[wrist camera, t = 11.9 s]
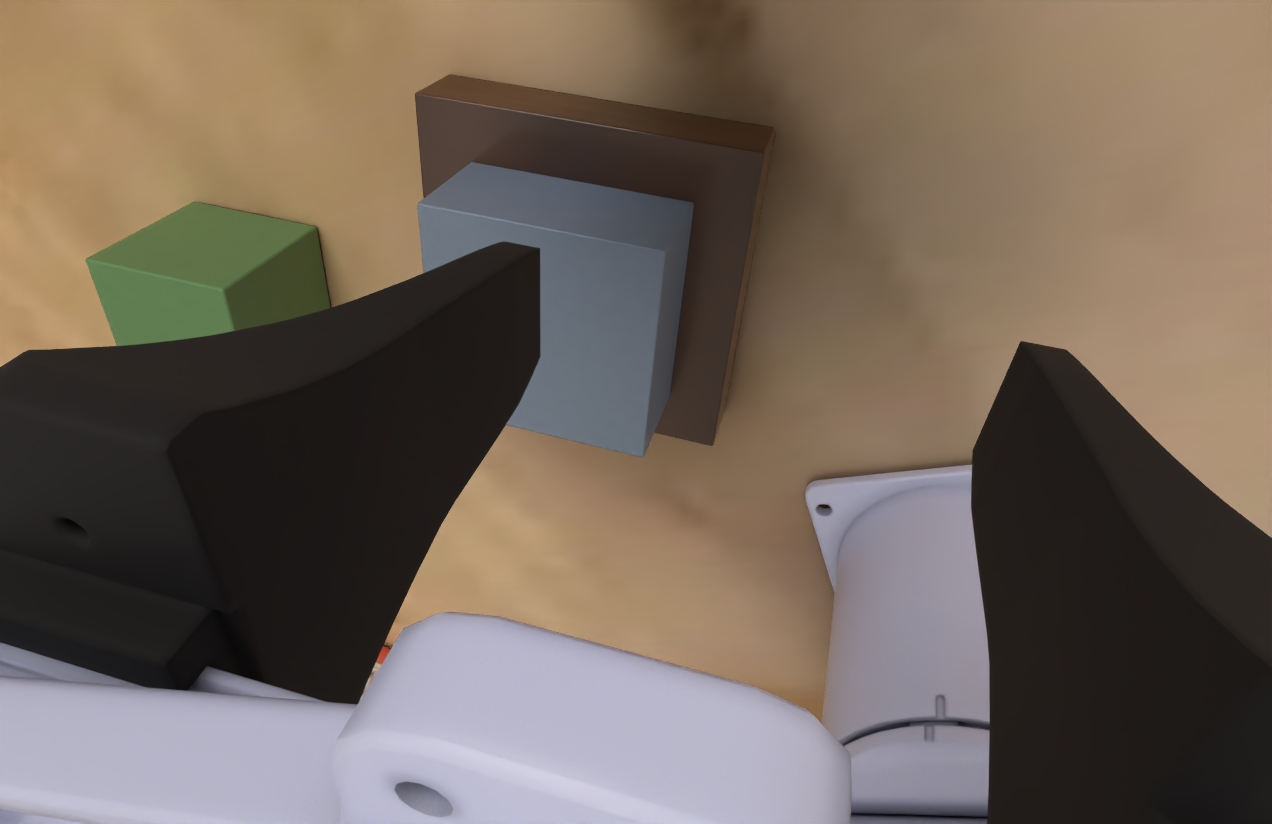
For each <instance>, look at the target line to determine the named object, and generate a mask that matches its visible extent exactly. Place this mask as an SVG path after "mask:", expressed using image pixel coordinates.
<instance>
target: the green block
mask: <svg viewBox="0 0 1272 824" xmlns="http://www.w3.org/2000/svg"><path fill="white" fill-rule="evenodd" d="M86 263H87V265H88V268H89V271H90V273H91V276H92V279H93V282H94V284H95V287H96V290H97V293H98V295H99V298H100V301H101V303H102V306H103V309H104V312H105V314H106V317H107V320H108V322H109V325H110V328H111V331H112V333H113V336H114V339H115V342H116V344H117V346H125V345H136V344H146V343H155V342H165V341H174V340H181V339H188V338H196V337H203V336H210V335H216V334H221V333H226V332H231V331H236V330H241V329H246V328H251V327H256V326H261V325H266V324H271V323H276V322H281V321H285V320H289V319H293V318H297V317H300V316H304V315H308V314H311V313H315V312H318V311H322V310H325V309H329V308H330V302H329V297H328V291H327V285H326V279H325V273H324V268H323V262H322V256H321V250H320V244H319V239H318V233H317V228H316V227H315V226H310V225H305V224H300V223H296V222H291V221H286V220H281V219H276V218H271V217H266V216H261V215H257V214H252V213H247V212H242V211H237V210H232V209H227V208H222V207H218V206H213V205H208V204H203V203H198V202H193V203H191V204H189V205H187V206H185V207H183V208H181V209H179V210H177V211H176V212H174V213H172V214H170V215H168V216H166V217H164V218H162V219H160V220H159V221H157V222H155V223H153V224H151V225H149V226H147V227H145V228H143V229H141V230H140V231H138V232H136V233H134V234H132V235H130V236H128V237H126V238H124V239H122V240H121V241H119V242H117V243H115V244H113V245H111V246H109V247H107V248H105V249H104V250H102V251H100V252H98V253H96V254H94V255H92V256H90V257H88V258H87V259H86Z"/></svg>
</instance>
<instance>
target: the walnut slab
mask: <svg viewBox="0 0 1272 824" xmlns="http://www.w3.org/2000/svg"><path fill="white" fill-rule="evenodd" d="M415 101H416V113H417V125H418V137H419V149H420V161H421V172H422V184H423V196H424V198H425V197H427V196H428V195H429V194H431V193H432V192H433V191H434V190H436V189H437V188H438V187H440V186H441V185H442V184H444V183H445V182H446V181H448V180H449V179H450V178H451V177H453V176H454V175H455V174H457V173H458V172H459V171H461V170H462V169H463V168H464V167H466V166H467V165H468V164H470V163H471V162H475V163H480V164H486V165H491V166H496V167H502V168H507V169H513V170H518V171H524V172H529V173H535V174H540V175H546V176H551V177H556V178H562V179H567V180H573V181H578V182H584V183H589V184H595V185H600V186H605V187H611V188H616V189H622V190H627V191H633V192H638V193H644V194H649V195H655V196H660V197H665V198H671V199H676V200H682V201H687V202H693V203H694V209H693V217H692V224H691V232H690V240H689V248H688V256H687V264H686V272H685V279H684V287H683V295H682V303H681V311H680V319H679V326H678V334H677V342H676V350H675V358H674V366H673V373H672V381H671V389H670V396H669V398H668V401H667V403H666V406H665V408H664V410H663V413H662V415H661V417H660V420H659V422H658V424H657V427H656V429H655V431H654V433H658V434H663V435H667V436H671V437H675V438H680V439H684V440H688V441H692V442H697V443H701V444H705V445H710V446H713V445H714V442H715V439H716V435H717V432H718V429H719V426H720V423H721V420H722V417H723V414H724V411H725V406H726V401H727V395H728V390H729V384H730V379H731V373H732V368H733V362H734V356H735V351H736V345H737V340H738V334H739V329H740V323H741V318H742V312H743V307H744V301H745V296H746V290H747V285H748V279H749V274H750V268H751V262H752V257H753V251H754V246H755V240H756V235H757V229H758V224H759V218H760V213H761V207H762V202H763V196H764V191H765V185H766V180H767V174H768V169H769V163H770V157H771V152H772V146H773V141H774V135H775V128H771V127H765V126H759V125H753V124H747V123H741V122H735V121H729V120H723V119H717V118H711V117H705V116H699V115H693V114H686V113H680V112H674V111H668V110H662V109H656V108H650V107H644V106H638V105H632V104H626V103H620V102H614V101H608V100H601V99H595V98H589V97H583V96H577V95H571V94H565V93H559V92H553V91H547V90H541V89H535V88H529V87H523V86H516V85H510V84H504V83H498V82H492V81H486V80H480V79H474V78H468V77H462V76H456V75H448V76H446V77H444V78H442V79H441V80H439V81H437V82H435V83H433V84H431V85H429V86H428V87H426V88H424V89H422V90H420V91H418V92H417V93H415Z"/></svg>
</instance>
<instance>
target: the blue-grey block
mask: <svg viewBox="0 0 1272 824" xmlns="http://www.w3.org/2000/svg"><path fill="white" fill-rule="evenodd" d="M693 209H694V203H693V202H687V201H682V200H676V199H671V198H665V197H660V196H655V195H649V194H644V193H638V192H633V191H627V190H622V189H616V188H611V187H605V186H600V185H595V184H589V183H584V182H578V181H573V180H567V179H562V178H556V177H551V176H546V175H540V174H535V173H529V172H524V171H518V170H513V169H507V168H502V167H496V166H491V165H486V164H480V163H475V162H471V163H470V164H468V165H467V166H466V167H464V168H463V169H462V170H461V171H459V172H458V173H457V174H455V175H454V176H453V177H451V178H450V179H449V180H448V181H446V182H445V183H444V184H442V185H441V186H440V187H438V188H437V189H436V190H434V191H433V192H432V193H431V194H429V195H428V196H427V197H425V198H424V199H423V200H421V201H420V202H419V203H418V215H419V227H420V238H421V249H422V260H423V271H424V273H425V272H428V271H430V270H432V269H435V268H437V267H439V266H442V265H444V264H446V263H449V262H451V261H453V260H456V259H458V258H460V257H463V256H465V255H467V254H470V253H472V252H475V251H477V250H479V249H482V248H485V247H487V246H490V245H493V244H496V243H499V242H503V241H505V242H511V243H516V244H521V245H526V246H531V247H536V248H540V359H539V361H538V364H537V366H536V368H535V370H534V373H533V375H532V377H531V380H530V382H529V384H528V386H527V388H526V390H525V392H524V394H523V397H522V399H521V401H520V403H519V405H518V406H517V408H516V410H515V411H514V413H513V414H512V416H511V417H510V419H509V421H508V422H507V424H506V425H509V426H513V427H517V428H521V429H525V430H530V431H534V432H538V433H542V434H546V435H550V436H555V437H559V438H563V439H567V440H571V441H575V442H580V443H584V444H588V445H592V446H596V447H600V448H604V449H609V450H613V451H617V452H621V453H625V454H629V455H634V456H638V457H644V455H645V452H646V450H647V448H648V445H649V443H650V441H651V438H652V436H653V434H654V431H655V429H656V427H657V424H658V422H659V420H660V417H661V415H662V413H663V410H664V408H665V406H666V403H667V401H668V398H669V396H670V389H671V381H672V373H673V366H674V358H675V350H676V342H677V334H678V326H679V319H680V311H681V303H682V295H683V287H684V279H685V272H686V264H687V256H688V248H689V240H690V232H691V224H692V217H693Z"/></svg>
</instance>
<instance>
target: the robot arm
mask: <svg viewBox="0 0 1272 824" xmlns="http://www.w3.org/2000/svg"><path fill="white" fill-rule="evenodd" d="M539 359H540V248H536V247H531V246H526V245H521V244H516V243H511V242H505V241H503V242H499V243H496V244H493V245H490V246H487V247H485V248H482V249H479V250H477V251H475V252H472V253H470V254H467V255H465V256H463V257H460V258H458V259H456V260H453V261H451V262H449V263H446V264H444V265H442V266H439V267H437V268H435V269H432V270H430V271H428V272H425V273H423V274H421V275H418V276H416V277H414V278H411V279H409V280H406V281H404V282H401V283H399V284H396V285H393V286H391V287H388V288H385V289H383V290H380V291H377V292H375V293H372V294H369V295H367V296H364V297H361V298H359V299H356V300H354V301H351V302H348V303H344V304H341V305H338V306H335V307H332V308H329V309H325V310H322V311H318V312H315V313H311V314H308V315H304V316H300V317H297V318H293V319H289V320H285V321H281V322H276V323H271V324H266V325H261V326H256V327H251V328H246V329H241V330H236V331H231V332H226V333H221V334H216V335H210V336H203V337H196V338H188V339H181V340H174V341H165V342H155V343H146V344H136V345H125V346H110V347H91V348H71V349H52V350H28V351H26V352H24V353H22V354H20V355H19V356H17V357H16V358H14V359H13V360H11V361H10V362H8V363H6V364H5V365H3V366H2V367H0V824H1272V538H1271V537H1269V536H1268V535H1267V534H1265V533H1264V532H1263V531H1262V530H1260V529H1259V528H1258V527H1256V526H1255V525H1254V524H1252V523H1251V522H1250V521H1249V520H1247V519H1246V518H1245V517H1243V516H1242V515H1241V514H1239V513H1238V512H1237V511H1236V510H1234V509H1233V508H1232V507H1230V506H1229V505H1228V504H1227V503H1225V502H1224V501H1223V500H1222V499H1221V498H1219V497H1218V496H1217V495H1216V494H1215V493H1213V492H1212V491H1211V490H1210V489H1209V488H1207V487H1206V486H1205V485H1204V484H1203V483H1202V482H1201V481H1200V480H1199V479H1197V478H1196V477H1195V476H1194V475H1193V474H1192V473H1191V472H1190V471H1189V470H1187V469H1186V468H1185V467H1184V466H1183V465H1182V464H1181V463H1180V462H1178V461H1177V460H1176V459H1175V458H1174V457H1173V456H1172V455H1171V454H1170V453H1169V452H1168V451H1167V450H1166V449H1165V448H1164V447H1163V446H1162V445H1160V444H1159V443H1158V442H1157V441H1156V440H1155V439H1154V438H1153V437H1152V436H1151V435H1150V434H1149V433H1148V432H1147V431H1146V430H1145V429H1144V428H1143V427H1142V426H1141V425H1140V424H1139V423H1138V422H1137V421H1136V420H1135V419H1134V418H1133V417H1132V416H1131V415H1130V413H1129V412H1128V411H1127V410H1126V409H1125V408H1124V407H1123V406H1122V405H1121V404H1120V403H1119V402H1118V401H1117V400H1116V399H1115V398H1114V397H1113V396H1112V395H1111V394H1110V393H1109V392H1108V390H1107V389H1106V388H1105V387H1104V386H1103V385H1102V384H1101V383H1100V382H1099V381H1098V380H1097V379H1096V378H1095V377H1094V376H1093V375H1092V374H1091V373H1090V372H1089V371H1088V370H1087V369H1086V368H1085V367H1084V366H1083V365H1082V364H1081V363H1080V362H1079V361H1078V360H1077V359H1076V358H1075V357H1074V356H1073V355H1072V354H1070V353H1069V352H1068V351H1067V350H1065V349H1059V348H1054V347H1049V346H1044V345H1039V344H1033V343H1028V342H1023V341H1021V342H1020V344H1019V346H1018V348H1017V351H1016V353H1015V355H1014V358H1013V360H1012V362H1011V364H1010V367H1009V369H1008V371H1007V373H1006V376H1005V378H1004V380H1003V383H1002V385H1001V387H1000V389H999V392H998V394H997V396H996V399H995V401H994V403H993V405H992V408H991V410H990V412H989V414H988V417H987V419H986V421H985V424H984V426H983V428H982V430H981V433H980V435H979V437H978V440H977V442H976V444H975V446H974V449H973V458H972V464H971V465H961V466H951V467H942V468H932V469H922V470H912V471H902V472H892V473H882V474H872V475H862V476H852V477H842V478H832V479H822V480H816V481H812V482H811V483H810V484H808V486H807V488H806V492H805V500H806V503H807V506H808V509H809V513H810V516H811V519H812V522H813V525H814V529H815V532H816V535H817V538H818V542H819V545H820V548H821V551H822V554H823V558H824V561H825V564H826V567H827V571H828V574H829V577H830V580H831V583H832V587H833V590H834V593H835V596H834V605H833V615H832V625H831V635H830V644H829V654H828V664H827V674H826V683H825V693H824V703H823V713H822V722H821V723H820V722H819V721H818V720H817V718H816V717H815V716H814V715H812V714H811V713H810V712H809V711H808V710H807V709H805V708H803V707H800V706H798V705H796V704H794V703H791V702H789V701H787V700H785V699H782V698H780V697H778V696H776V695H773V694H771V693H769V692H767V691H764V690H762V689H760V688H758V687H756V686H753V685H749V684H745V683H742V682H738V681H734V680H731V679H727V678H723V677H720V676H716V675H712V674H709V673H705V672H701V671H698V670H694V669H690V668H687V667H683V666H679V665H676V664H672V663H668V662H664V661H661V660H657V659H653V658H650V657H646V656H642V655H639V654H635V653H631V652H628V651H624V650H620V649H617V648H613V647H609V646H606V645H602V644H598V643H595V642H591V641H587V640H583V639H580V638H576V637H572V636H569V635H565V634H561V633H558V632H554V631H550V630H547V629H543V628H539V627H536V626H532V625H528V624H525V623H521V622H517V621H514V620H510V619H506V618H502V617H499V616H489V615H478V614H468V613H457V612H444V613H438V614H435V615H433V616H431V617H428V618H426V619H424V620H422V621H419V622H417V623H415V624H413V625H410V626H408V627H406V628H403V630H402V632H401V633H400V635H399V637H398V638H397V640H396V642H395V643H394V645H393V647H392V648H391V650H390V652H389V653H388V655H387V657H386V658H385V660H384V662H383V663H382V665H381V667H380V668H379V670H378V672H377V673H376V675H375V677H374V678H373V680H372V682H371V683H370V685H369V687H368V688H367V690H366V692H365V693H364V695H363V697H362V698H361V696H362V694H363V691H364V689H365V686H366V684H367V681H368V679H369V677H370V675H371V672H372V670H373V668H374V665H375V663H376V661H377V659H378V656H379V654H380V652H381V650H382V647H383V645H384V643H385V640H386V638H387V636H388V634H389V631H390V629H391V627H392V624H393V622H394V620H395V618H396V616H397V614H398V612H399V610H400V607H401V605H402V603H403V601H404V599H405V597H406V595H407V593H408V590H409V588H410V586H411V584H412V582H413V580H414V578H415V576H416V574H417V571H418V569H419V568H420V566H421V564H422V562H423V560H424V558H425V556H426V554H427V552H428V550H429V548H430V546H431V544H432V542H433V540H434V538H435V536H436V534H437V532H438V530H439V528H440V526H441V524H442V522H443V521H444V519H445V517H446V516H447V514H448V512H449V511H450V509H451V507H452V505H453V504H454V502H455V501H456V499H457V498H458V496H459V495H460V493H461V492H462V490H463V489H464V487H465V486H466V484H467V483H468V481H469V480H470V478H471V477H472V475H473V474H474V472H475V471H476V469H477V468H478V466H479V465H480V463H481V462H482V460H483V459H484V457H485V456H486V454H487V453H488V451H489V450H490V448H491V446H492V445H493V443H494V442H495V440H496V439H497V437H498V436H499V434H500V433H501V431H502V430H503V428H504V427H505V425H506V424H507V422H508V421H509V419H510V417H511V416H512V414H513V413H514V411H515V410H516V408H517V406H518V405H519V403H520V401H521V399H522V397H523V394H524V392H525V390H526V388H527V386H528V384H529V382H530V380H531V377H532V375H533V373H534V370H535V368H536V366H537V364H538V361H539ZM821 504H826V505H828V506H830V508H821V507H820V506H818V505H821ZM360 698H361V700H360Z"/></svg>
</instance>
